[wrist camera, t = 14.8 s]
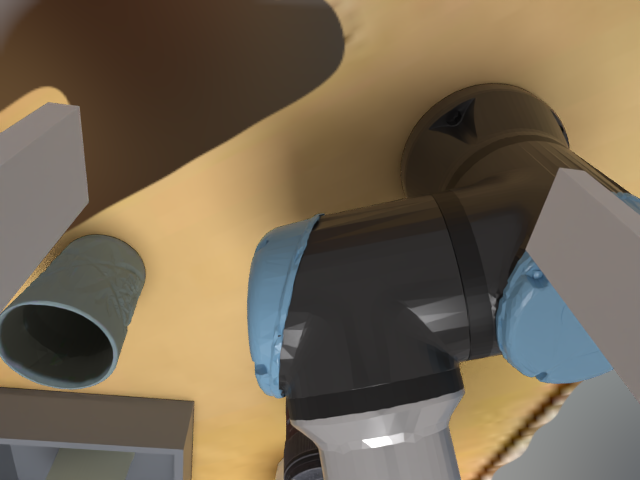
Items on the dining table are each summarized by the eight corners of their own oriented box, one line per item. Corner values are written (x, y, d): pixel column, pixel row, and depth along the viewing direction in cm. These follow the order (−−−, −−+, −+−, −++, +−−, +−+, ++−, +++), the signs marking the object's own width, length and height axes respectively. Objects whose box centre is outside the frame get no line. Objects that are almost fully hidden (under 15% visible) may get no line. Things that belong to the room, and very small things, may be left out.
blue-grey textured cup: (170, 286, 54) (140, 368, 44) (93, 319, 56) (48, 404, 46) (112, 212, 49) (63, 283, 39) (30, 250, 51) (-37, 329, 41)
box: (194, 401, 63) (183, 449, 57) (191, 487, 72) (181, 537, 66) (-8, 386, 61) (-41, 435, 55) (15, 477, 70) (-11, 528, 64)
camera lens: (287, 401, 64) (285, 516, 51) (284, 354, 60) (280, 467, 47) (350, 398, 64) (364, 512, 51) (351, 351, 60) (366, 463, 47)
